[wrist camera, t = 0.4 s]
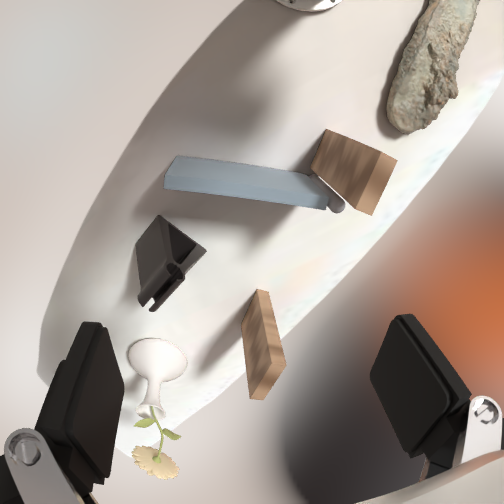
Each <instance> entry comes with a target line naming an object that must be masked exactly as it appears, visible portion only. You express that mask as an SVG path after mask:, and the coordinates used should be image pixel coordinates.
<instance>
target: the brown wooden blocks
mask: <svg viewBox="0 0 504 504" xmlns="http://www.w3.org/2000/svg"><path fill="white" fill-rule="evenodd" d="M397 161H398V160H396V159H394V158H392V157H390V156H388V155H386V154H385V153H383V152H381V151H378V150H376V149H374V148H372V147H369V146H367V145H365V144H362V143H360V142H358V141H355V140H353V139H350V138H348V137H346V136H343V135H341V134H338V133H335V132H333V131H330V130H328V129H326V131H325V133H324V136H323V138H322V140H321V143H320V145H319V147H318V150H317V152H316V155H315V157H314V159H313V162H312V164H311V166H310V168H311V169H312V170H313V171H314V172H315V173H316V174H318V175H319V176H320V177H321V178H322V179H323V180H324V181H325V182H326V183H328V184H329V185H330V186H331V187H332V188H333V189H334V190H335V191H336V192H337V193H339V194H340V195H341V196H342V197H343V198H344V199H345V200H346V201H347V202H348V203H349V204H350V205H351V206H352V207H353V208H355V209H356V210H359V211H361V212H364V213H366V214H368V215H371V216H372V214H373V212H374V210H375V208H376V206H377V204H378V202H379V199H380V197H381V195H382V193H383V191H384V189H385V187H386V185H387V183H388V180H389V178H390V176H391V174H392V172H393V169H394V167H395V165H396V163H397ZM241 329H242V338H243V347H244V355H245V363H246V372H247V380H248V388H249V395H250V399H256V400H264V398H265V397H266V395H267V394H268V392H269V391H270V389H271V388H272V386H273V385H274V383H275V382H276V380H277V379H278V377H279V376H280V374H281V373H282V371H283V370H284V368H285V367H286V361H285V358H284V353H283V349H282V345H281V341H280V337H279V333H278V329H277V325H276V320H275V316H274V312H273V308H272V304H271V300H270V296H269V292H267V291H263V290H259V289H257V290H256V293H255V295H254V297H253V299H252V301H251V304H250V306H249V308H248V310H247V313H246V315H245V317H244V319H243V321H242V324H241Z"/></svg>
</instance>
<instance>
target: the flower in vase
mask: <svg viewBox="0 0 504 504" xmlns="http://www.w3.org/2000/svg"><path fill="white" fill-rule="evenodd" d="M129 361H130V364H131V366H132V367H133V368H134V370H135V371H136V372H137V373H138V374H139V375H141V376H142V377H144V378H146V379H147V380H148V388H147V393H146V396H145V398H144V401H143V402H142V403H141V404H140V405H139V406H138V407H137V408H136V413H137V414H138V415H139V416H141V417H142V418H145V419H142V420H140V421H138V422H137V423H136V424H135V425H134V426H137V427H142V428H146V427H148V426H150V425H152V424H153V423H154V422H156V423H157V425H158V427H159V429H160V432H161V443H160V448H159V450H157V449H153V448H152V447H146V446H142V447H140V446H135V447H136V449H133V450H134V451H132V454H133V455H132V457H133V458H134V459H135V460H136V461H135V464H136V465H139V467H140V469H143V470H146V471H147V474H148V475H150V476H152V475H156V476H157V478H160V479H161V478H163V479H164V480H167V479H168V478H174V476H175V477H177V474H178V471H177V470H179V468H178V467H177V466H176V463H175V462H174V461H172V459H171V458H170V457H168V456H167V455H166V454H165V453H160V452H161V448H162V444H163V434H165V435H166V436H168V437H169V438H170V439H172V440H177V439H179V438H180V437H181V436H179V435H177V434H174V433H173V432H171V431H170V430H168V429H166V428H165V429H163V430H162V429H161V427H160V425H159V423H158V421H157V420H161V419H163V418H165V416H166V414H165V411H164V410H163V409H162V407H161V404H160V386H161V383H162V382H168V381H171V380H174V379H176V378H178V377H180V376H181V375H182V374H183V373H184V371H185V370H186V368H187V364H188V362H187V358H186V356H185V354H184V353H183V351H182V350H181V349H180V348H179V347H177V346H176V345H175V344H173V343H171V342H169V341H166V340H162V339H156V338H150V339H144V340H141V341H139V342H137V343H135V344H134V345H133V346H132V347H131V348H130V350H129Z"/></svg>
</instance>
